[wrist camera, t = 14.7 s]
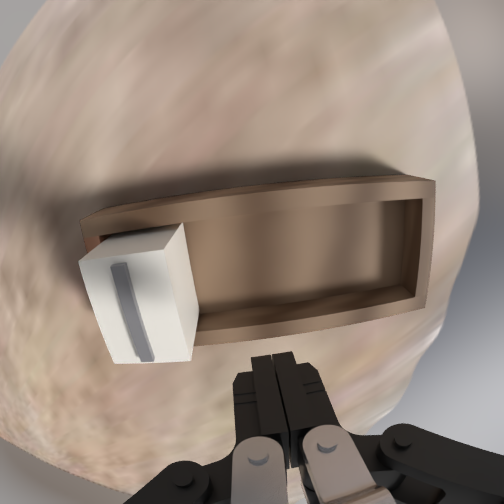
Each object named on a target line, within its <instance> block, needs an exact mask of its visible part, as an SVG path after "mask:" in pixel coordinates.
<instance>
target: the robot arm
mask: <svg viewBox="0 0 504 504" xmlns="http://www.w3.org/2000/svg"><path fill="white" fill-rule="evenodd" d="M251 363H252V370H253V371H250V372H242V373H238V374H237V376H236V378H235V380H234V382H233V396H234V397H233V398H234V415H235V430H236V444H235V447H234V449H233V450H232V452H231V453H230V454H229V455H228V456H226V457H225V458H223V459H222V460H219V461H217V462H214V463H211V464H208V465H205V466H201V465H200V464H198V463H195V462H192V461H178V462H175V463H172V464H170V465H168V466H167V467H166V468H165V469H164V470H162V471H161V472H160V473H159V474H158V475H157V476H156V477H154V478H153V479H152V480H151V481H150V482H149V483H147V484H146V485H145V486H144V487H143V488H142V489H140V490H139V491H138V492H137V493H136V494H134V495H133V496H132V497H131V498H130V499H128V500H127V501H126V502H125V503H123V504H288V495H287V469H289V459H290V464H291V468H295V467H299V470H300V474H301V486H302V489H303V492H304V495H305V498H306V501H307V504H504V455H500V454H496V453H493V452H489V451H486V450H482V449H479V448H476V447H473V446H470V445H467V444H463V443H461V442H457V441H455V440H451V439H449V438H446V437H443V436H440V435H438V434H435V433H432V432H429V431H426V430H424V429H421V428H418V427H416V426H414V425H411V424H403V423H402V424H396V425H393V426H391V427H389V428H387V429H386V430H385V431H384V433H383V434H382V435H365V436H364V435H355V434H352V433H350V432H348V431H346V430H345V429H343V428H342V427H341V425H340V424H339V422H338V420H337V417H336V415H335V412H334V410H333V407H332V405H331V402H330V400H329V397H328V395H327V392H326V391H325V387H324V385H323V383H322V380H321V378H320V375H319V373H318V370H317V369H315V368H314V367H313V366H312V365H311V364H310V363H302V364H296V361H295V358H294V355H293V352H292V351H291V352H285V353H278V354H272V358H271V355H265V356H258V357H251Z"/></svg>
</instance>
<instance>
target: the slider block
mask: <svg viewBox="0 0 504 504" xmlns="http://www.w3.org/2000/svg"><path fill="white" fill-rule="evenodd" d="M78 263H79V266H80V270H81V273H82V277H83V280H84V283H85V286H86V290H87V293H88V296H89V299H90V302H91V305H92V308H93V310H94V313H95V316H96V319H97V322H98V324H99V327H100V330H101V332H102V335H103V337H104V340H105V342H106V345H107V347H108V350H109V352H110V354H111V357H112V359H113V361H114V364H128V363H162V362H181V361H191V357H192V351H193V345H194V339H195V333H196V328H197V322H198V316H199V311H200V310H199V305H198V301H197V296H196V291H195V286H194V281H193V276H192V271H191V266H190V260H189V255H188V249H187V244H186V238H185V232H184V226H183V223H177V224H170V225H163V226H157V227H150V228H144V229H137V230H131V231H124V232H118V233H114V234H112V235H111V236H110V237H108V238H107V239H106V240H104V241H103V242H102V243H100V244H99V245H98V246H97V247H95V248H94V249H93V250H92V251H90V252H89V253H88V254H86V255H85V256H84V257H83V258H82V259H80V260H79V261H78Z"/></svg>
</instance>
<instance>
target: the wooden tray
mask: <svg viewBox="0 0 504 504" xmlns="http://www.w3.org/2000/svg"><path fill="white" fill-rule="evenodd" d="M177 223H183V226H184V232H185V238H186V244H187V249H188V255H189V260H190V266H191V271H192V276H193V281H194V286H195V291H196V296H197V301H198V305H199V310H200V311H199V316H198V322H197V328H196V333H195V339H194V345H193V346H202V345H213V344H223V343H232V342H241V341H250V340H258V339H266V338H273V337H280V336H287V335H294V334H300V333H306V332H312V331H318V330H324V329H330V328H335V327H341V326H346V325H351V324H356V323H361V322H366V321H371V320H375V319H380V318H384V317H389V316H393V315H397V314H402V313H406V312H410V311H414V310H418V309H422V308H425V304H426V298H427V292H428V285H429V278H430V269H431V261H432V250H433V238H434V223H435V181H434V180H430V179H425V178H420V177H416V176H411V175H383V176H361V177H344V178H329V179H316V180H303V181H292V182H281V183H271V184H262V185H253V186H244V187H236V188H228V189H220V190H212V191H205V192H198V193H191V194H184V195H178V196H171V197H165V198H159V199H153V200H147V201H141V202H136V203H130V204H125V205H119V206H114V207H109V208H104V209H101V210H99V211H97V212H95V213H93V214H91V215H89V216H88V217H86V218H84V219H82V220H80V225H81V230H82V234H83V238H84V242H85V246H86V250H87V254H88V253H89V252H90V251H92V250H93V249H94V248H95V247H97V246H98V245H99V244H100V243H102V242H103V241H104V240H106V239H107V238H108V237H110V236H111V235H112V234H114V233H118V232H124V231H131V230H137V229H144V228H150V227H157V226H163V225H170V224H177Z"/></svg>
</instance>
